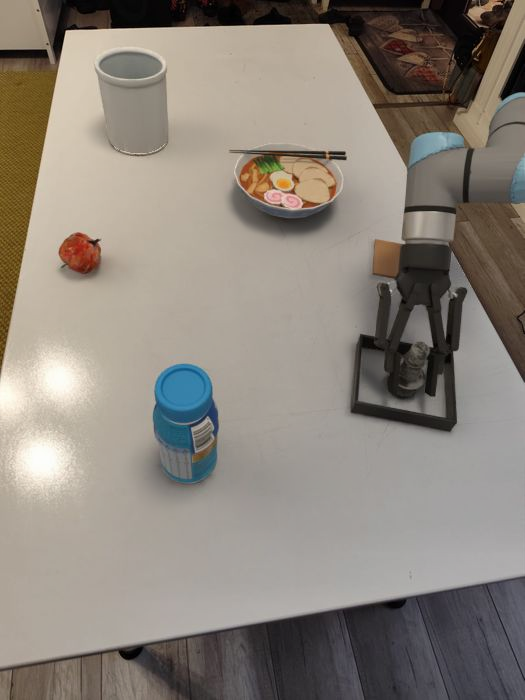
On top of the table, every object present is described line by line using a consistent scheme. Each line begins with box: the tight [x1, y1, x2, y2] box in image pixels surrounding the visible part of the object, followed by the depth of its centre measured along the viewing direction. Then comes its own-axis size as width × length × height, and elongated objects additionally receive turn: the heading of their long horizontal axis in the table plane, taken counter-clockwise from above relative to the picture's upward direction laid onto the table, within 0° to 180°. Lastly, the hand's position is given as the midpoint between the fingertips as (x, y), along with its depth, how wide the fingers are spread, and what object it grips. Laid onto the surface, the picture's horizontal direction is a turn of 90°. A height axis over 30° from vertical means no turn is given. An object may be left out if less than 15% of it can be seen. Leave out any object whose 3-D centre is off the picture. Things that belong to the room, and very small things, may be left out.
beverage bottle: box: [152, 363, 220, 484], centre depth 68 cm, size 8×8×20 cm
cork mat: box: [372, 238, 404, 279], centre depth 104 cm, size 10×10×1 cm
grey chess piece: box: [384, 341, 430, 400], centre depth 82 cm, size 6×6×12 cm
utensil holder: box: [93, 46, 169, 156], centre depth 115 cm, size 15×15×18 cm
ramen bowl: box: [228, 141, 348, 220], centre depth 109 cm, size 25×23×8 cm
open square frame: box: [350, 333, 458, 432], centre depth 86 cm, size 16×14×3 cm
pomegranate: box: [58, 231, 102, 275], centre depth 94 cm, size 7×7×10 cm
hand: (411, 393), depth 82 cm, fingers closed on grey chess piece, 5 cm apart
